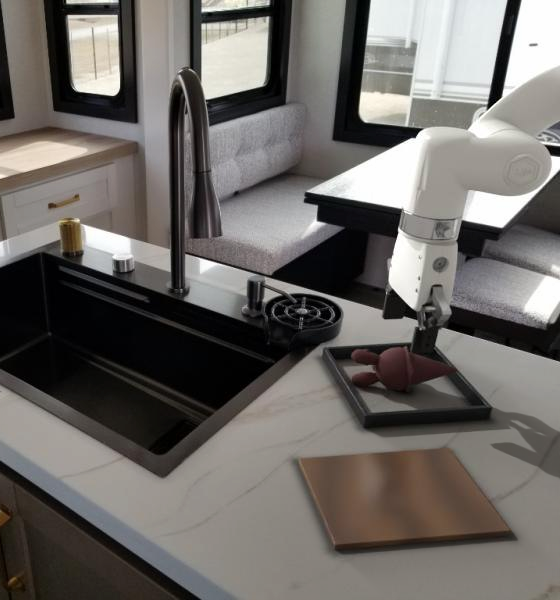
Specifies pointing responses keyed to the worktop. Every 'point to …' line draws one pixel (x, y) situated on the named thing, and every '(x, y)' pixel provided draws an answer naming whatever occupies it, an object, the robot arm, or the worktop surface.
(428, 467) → the board
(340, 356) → the black square frame
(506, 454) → the worktop surface
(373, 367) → the icecream
